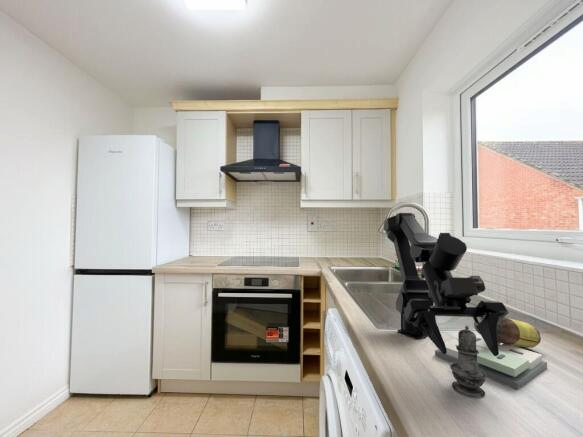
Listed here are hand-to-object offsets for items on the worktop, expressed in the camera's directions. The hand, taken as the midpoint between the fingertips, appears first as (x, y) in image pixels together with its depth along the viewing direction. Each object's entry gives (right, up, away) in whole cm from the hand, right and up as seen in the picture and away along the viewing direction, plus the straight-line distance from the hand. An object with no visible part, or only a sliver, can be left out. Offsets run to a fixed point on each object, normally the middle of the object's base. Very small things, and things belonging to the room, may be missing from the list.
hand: (470, 354), depth 50 cm
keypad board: (+12, -8, +12) cm, 19 cm away
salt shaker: (0, -7, +1) cm, 7 cm away
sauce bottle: (+29, -6, +20) cm, 35 cm away
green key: (+11, -8, +6) cm, 15 cm away
